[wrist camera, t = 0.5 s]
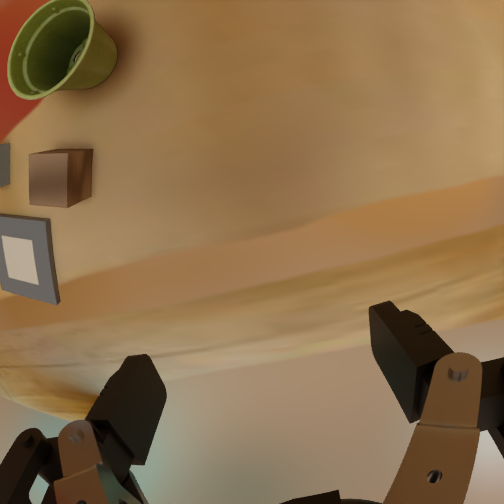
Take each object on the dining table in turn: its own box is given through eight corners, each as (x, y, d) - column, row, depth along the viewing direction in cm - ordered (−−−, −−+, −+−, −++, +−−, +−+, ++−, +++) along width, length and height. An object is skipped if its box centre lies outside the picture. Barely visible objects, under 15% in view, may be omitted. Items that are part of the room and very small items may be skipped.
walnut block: (56, 149, 25) (29, 154, 21) (93, 149, 26) (67, 153, 21) (55, 193, 27) (29, 204, 23) (91, 196, 28) (67, 208, 23)
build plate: (-7, 213, 27) (-12, 215, 26) (49, 219, 28) (44, 221, 27) (5, 286, 31) (1, 290, 30) (60, 301, 32) (56, 305, 31)
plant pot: (45, 92, 23) (-7, 88, 15) (82, 16, 20) (39, -7, 12) (107, 115, 24) (59, 112, 16) (149, 32, 21) (115, 0, 13)
